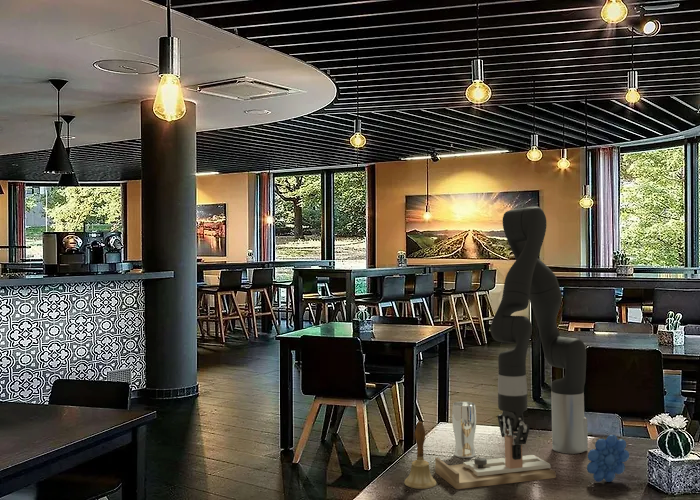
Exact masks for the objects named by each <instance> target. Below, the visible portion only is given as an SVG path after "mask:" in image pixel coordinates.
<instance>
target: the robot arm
mask: <svg viewBox="0 0 700 500" xmlns="http://www.w3.org/2000/svg"><path fill="white" fill-rule="evenodd" d="M502 229H503V232H504V235H505V237H506V240H507V243H508V245H509V248H510V250H511V252H512V253H513V254H512V255H513V256H514V258H515V261H514V262H513V264H512V265H511V266H510V268H509V270H508V272H507V273H506V275H505V279H504V284H503V290H502V296H501V301H500V303H499V305H498V307H497V310H496V312H495V313H494V316H493V318H492V320H491V323H490V335H491V337H492V338H493V340H494V341H496V342H500V343H514V344H515V348H514V349H511V350H505V351H502V352H500V353H499V354H498V357H497V362H498V379H497V407H498V409H499V410H500V411H502V413H501V414H498V415H497V417H496V418H497V422H498V426H499V430H500V435H501V437H502V438H504V439H503V440H505V435H510V436H511V437H512V458H513V459H514V460H518V459H521V445H522V446H523V445H526V443H527V441H528V436H529V432H530V428H531V427H530V424H525V422H524V421H525V419H524V414H523V413H524V412H526V411H527V410H528V380H527V372H526V371H527V370H526V369H527V367H526V365H527V363H526V362H527V361H526V360H527V353H528V348H529V344H530V341H531V338H532V334H533V333H532V332H533V324H532V321H531V320H530V319H529V318H528V317H527V316H525V315H512V314H514V313H516V312H520V311H524V310H527V308H528V307H529V303H530V305H531V308H532V311H533V314H534V317H535V320H536V324H537V329H538V331H539V336H540V338H539V339H540V341H541V346H542V350H543V354H544V358H545V361H546V362H547V363H548V365H550V366H551V367H553V368H554V367H555V368H558V369H564V371H565V372H564V376H563V377H561V378H559V379H554V380H552V382H551V384H550V385H551V386H550V387H551V388H550V392H551V396H550V398H551V438H552V439H551V442H552V443H551V445H552V447H551V448H552V450H553V451H555V452H557V453H563V454H567V455H568V454H571V455H573V454H574V455H576V454H580V453H584V452H588V451H589V449H588V448H589V447H588V446H589V445H588V443H589V441H588V440H589V439H588V438H589V437H588V418H587V417H586V416H585V394H584V393H585V384H586V377H587V376H586V374H587V373H586V372H587V348H586V345H585V343H584V341H583V340H582V339H579V338H577V337H576V338H575V337H567V336H566V337H565V336H561V334H560V332H559V329H558V325H557V318H558V316H559V315H558V314H559V311H560V308H561V305H562V303H563V302H562V301H563V295H562V290H561V288H560V283H559V281H558V277H557V276H556V275H555V273H554V272H553V270H552V269H551V268H549V266H547V264H545V262H543V261H542V260H541V259H540V258H539V256H540V253H541V249H542V246H543V243H544V240H545V236H546V232H547V217H546V213H545V212H544V210H543V209H542V208H541V207H539V206H528V207H522V208H515V209H510V210H509V209H508V210H507V211H505V212H504V213H503V216H502ZM515 436H516V440H515Z"/></svg>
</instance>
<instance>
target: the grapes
mask: <svg viewBox="0 0 700 500" xmlns="http://www.w3.org/2000/svg"><path fill="white" fill-rule="evenodd" d="M594 447H595V448H592V449H590V450H588V451H589V452H587V459H588V461H590V462H588V464H587V465H586V471H587V472H588V473H589V474H592V475H593V476H592V477H593V479H594V481H595V482H597V483H599V482H602V481H605V482H606V483H607V482H608V483H610V482H613V481H614V480H615V478H616V475H622V474H623V473H624V471H625V470H626V466H625V465H626V464H625V463H626V462H627V461H628V460H629V459H630V452H629V451H628V450H627V449H626V448H627V442H626V440H625V439H623V438H621V439H620V438H619V439H618V437H617V435H615V434H609V435H608V436H607V437H606V439H605V438H599V439H597V440H596V442H595V443H594Z"/></svg>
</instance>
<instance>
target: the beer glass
mask: <svg viewBox="0 0 700 500" xmlns="http://www.w3.org/2000/svg"><path fill="white" fill-rule="evenodd" d="M451 408H452V410H451V422H452V429H453V433H454V434H453V435H454V442H455V444H454V445H455V446H454V447H455V448H454V452H453V453H454V456H455V457H457V458H460V459H469V458H474V457H476V450H475V444H474V443H475V442H474V441H475V436H476V435H475V433H476V428H477V411H476V409H477V408H476V403H475V402H473V401H468V400H467V401H464V400H463V401H462V400H461V401H454V402H453V403H452V407H451Z"/></svg>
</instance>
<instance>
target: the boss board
mask: <svg viewBox="0 0 700 500" xmlns="http://www.w3.org/2000/svg"><path fill="white" fill-rule="evenodd" d="M487 460H488V459H487V458H485V457H475V458H474V460H473V461H474V463H475V464H476V465H478V469H482V468H485V467H483V465H486V464H487ZM434 462H435V463H434V464H435V465H434V466H435V469H434V471H435V473H436V474H437V475H438V476H440V477H441V478H442V479H443V480H445V482H447V483H448V484H449V485H451V487H453V488H454V489H455V490H461V489H462V490H463V489H471V488H477V487H478V488H480V487H487V486H489V487H490V486H497V485H504V484H505V485H506V484H513V483H515V484H516V483H520V482H521V483H522V482H524V483H525V482H530V481H531V482H532V481H539V480H548V479H556V478H557V474H556V473H557V472H556V471H555V470H553V469H551V468H547V469H538V470H529V471H520V472H511V473H502V474H493V475H484V476H477V475H475V474H474V472H473V471H472V470H470V469H469V468H468V469H467V468H465V467H464V466H463V463H459V464H449V465H448V464H447V463H446V462H444V460H442V459H441V458H439V457H435V458H434ZM487 468H490V467H487Z"/></svg>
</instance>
